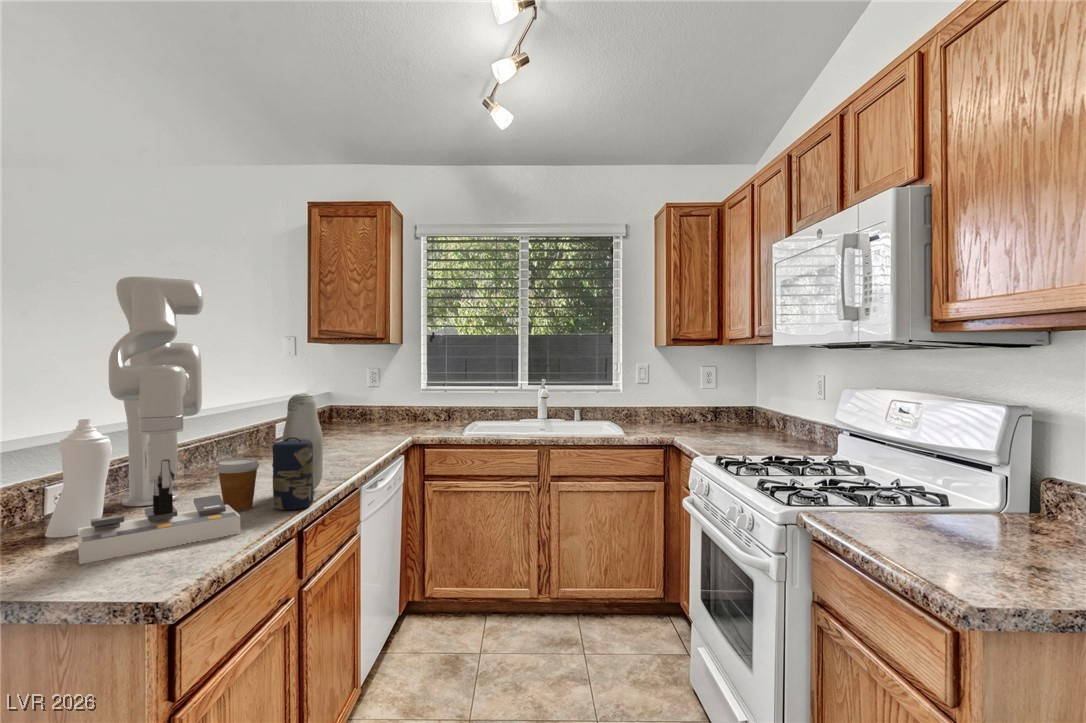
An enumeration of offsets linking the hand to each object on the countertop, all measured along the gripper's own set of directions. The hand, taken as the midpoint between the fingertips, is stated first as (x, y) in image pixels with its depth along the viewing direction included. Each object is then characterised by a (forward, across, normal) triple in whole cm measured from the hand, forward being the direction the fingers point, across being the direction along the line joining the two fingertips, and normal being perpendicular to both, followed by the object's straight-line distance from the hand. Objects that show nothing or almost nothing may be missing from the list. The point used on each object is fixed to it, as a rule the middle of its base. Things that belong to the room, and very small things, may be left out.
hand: (163, 513), depth 116 cm
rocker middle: (0, -4, 0) cm, 4 cm away
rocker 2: (0, -4, +9) cm, 10 cm away
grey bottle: (+6, -26, +36) cm, 45 cm away
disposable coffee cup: (+6, -19, +18) cm, 27 cm away
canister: (+6, -11, +29) cm, 32 cm away
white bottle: (+6, -22, -13) cm, 26 cm away
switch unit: (+6, -2, 0) cm, 7 cm away
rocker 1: (0, -4, -9) cm, 10 cm away
